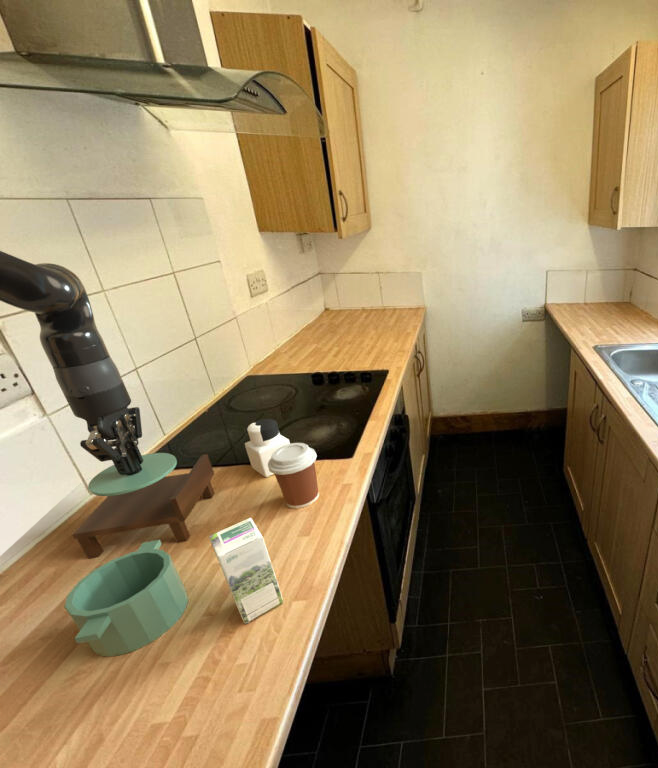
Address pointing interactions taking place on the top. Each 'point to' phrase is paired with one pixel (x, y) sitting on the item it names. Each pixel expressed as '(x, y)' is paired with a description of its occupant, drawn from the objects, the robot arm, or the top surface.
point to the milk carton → (247, 569)
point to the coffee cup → (295, 473)
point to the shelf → (148, 507)
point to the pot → (128, 601)
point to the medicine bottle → (263, 444)
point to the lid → (133, 474)
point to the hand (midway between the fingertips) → (132, 468)
